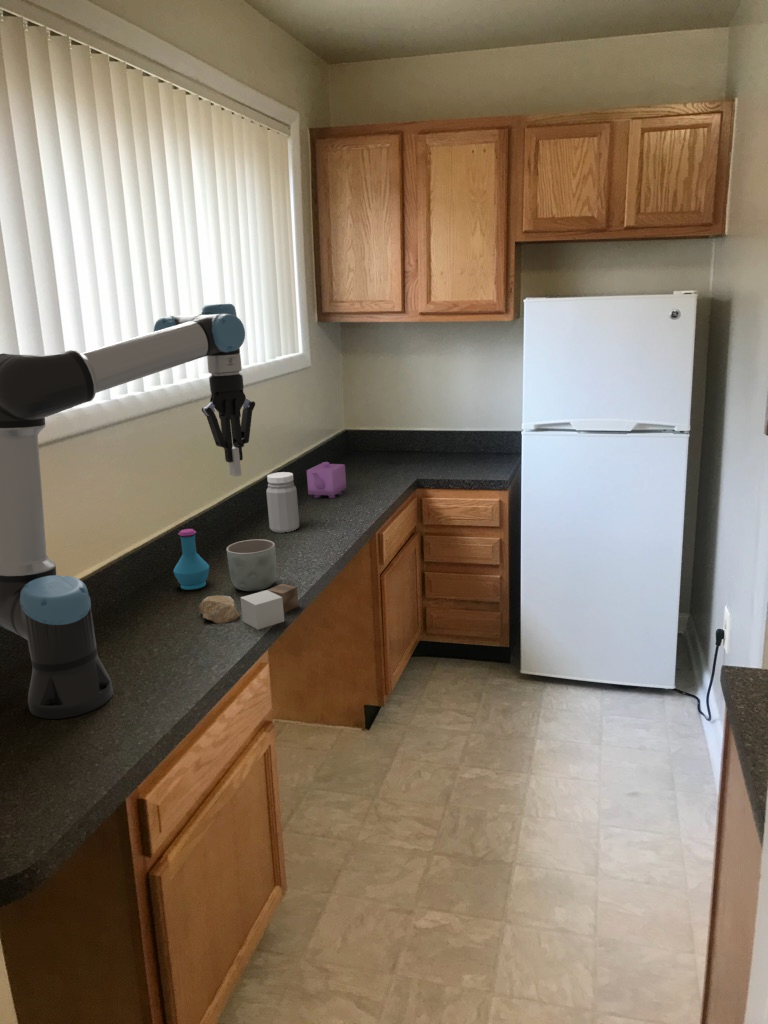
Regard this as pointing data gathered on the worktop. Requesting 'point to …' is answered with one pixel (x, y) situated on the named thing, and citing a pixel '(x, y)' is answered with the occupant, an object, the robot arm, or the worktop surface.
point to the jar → (282, 502)
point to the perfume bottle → (190, 563)
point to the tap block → (262, 609)
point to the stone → (219, 609)
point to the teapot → (326, 479)
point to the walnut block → (286, 596)
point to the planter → (252, 564)
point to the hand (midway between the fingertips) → (235, 475)
